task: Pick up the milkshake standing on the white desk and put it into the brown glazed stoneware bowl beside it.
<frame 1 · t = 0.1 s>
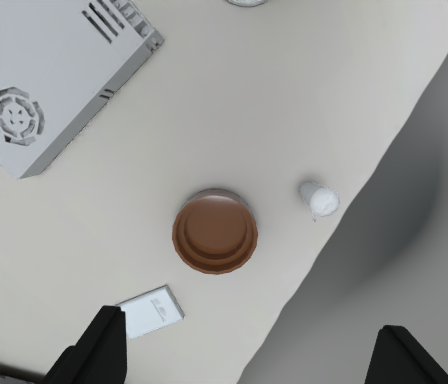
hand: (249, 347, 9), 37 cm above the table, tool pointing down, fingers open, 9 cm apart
milkshake: (305, 191, 46), on the table
bowl: (216, 225, 48), on the table
hard drive: (150, 309, 53), on the table
power supply unit: (55, 68, 41), on the table
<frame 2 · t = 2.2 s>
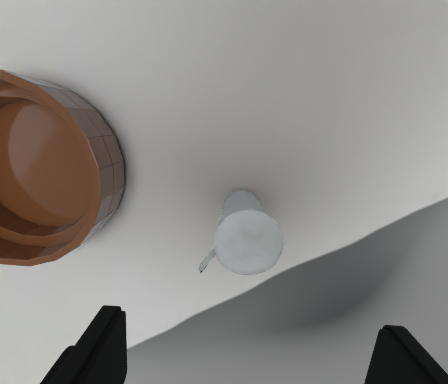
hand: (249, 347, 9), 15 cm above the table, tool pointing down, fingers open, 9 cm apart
milkshake: (237, 205, 24), on the table
bowl: (47, 166, 23), on the table
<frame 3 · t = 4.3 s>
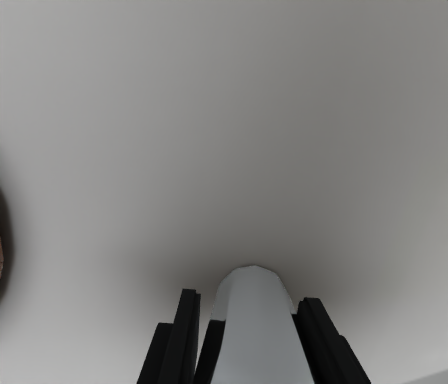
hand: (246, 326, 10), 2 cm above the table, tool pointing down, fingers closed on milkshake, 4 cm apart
milkshake: (243, 293, 12), on the table, touching gripper
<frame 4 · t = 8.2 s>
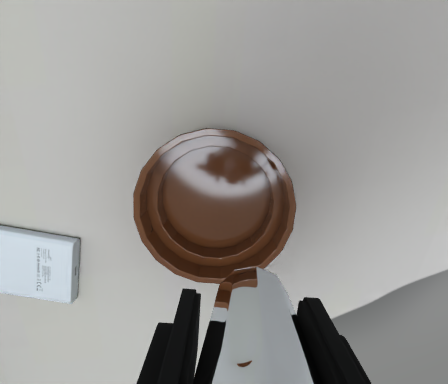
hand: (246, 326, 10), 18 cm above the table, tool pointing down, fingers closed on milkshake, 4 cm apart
milkshake: (243, 294, 12), point 16 cm above the table, touching gripper
bowl: (216, 197, 27), on the table
hard drive: (28, 258, 30), on the table
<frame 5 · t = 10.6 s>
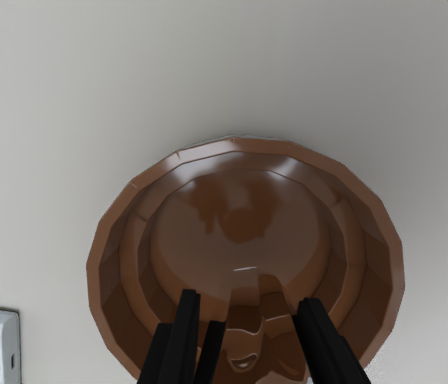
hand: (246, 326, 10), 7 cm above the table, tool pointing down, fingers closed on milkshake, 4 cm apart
milkshake: (243, 294, 12), point 5 cm above the table, touching gripper
bowl: (239, 248, 16), on the table
when the fingers open (2 cm above the table, at t = 12.1 s): milkshake stays where it is, resting on bowl.
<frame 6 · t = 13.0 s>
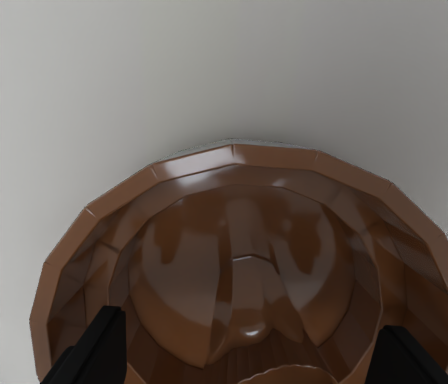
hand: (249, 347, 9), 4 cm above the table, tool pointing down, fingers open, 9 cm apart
milkshake: (241, 282, 13), resting on bowl
bowl: (240, 279, 13), on the table
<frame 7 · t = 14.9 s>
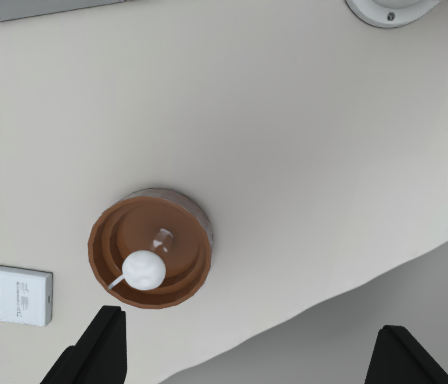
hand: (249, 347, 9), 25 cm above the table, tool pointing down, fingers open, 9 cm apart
milkshake: (159, 239, 34), resting on bowl
bowl: (159, 239, 35), on the table
hard drive: (10, 290, 36), on the table
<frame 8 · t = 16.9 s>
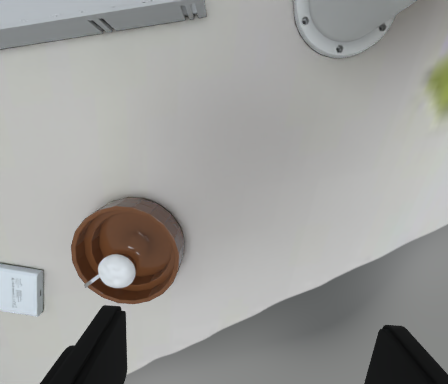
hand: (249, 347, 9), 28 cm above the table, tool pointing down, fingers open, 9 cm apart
milkshake: (137, 242, 38), resting on bowl
bowl: (137, 241, 39), on the table
hard drive: (6, 284, 41), on the table
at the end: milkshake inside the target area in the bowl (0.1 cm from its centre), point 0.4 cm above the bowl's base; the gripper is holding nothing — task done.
